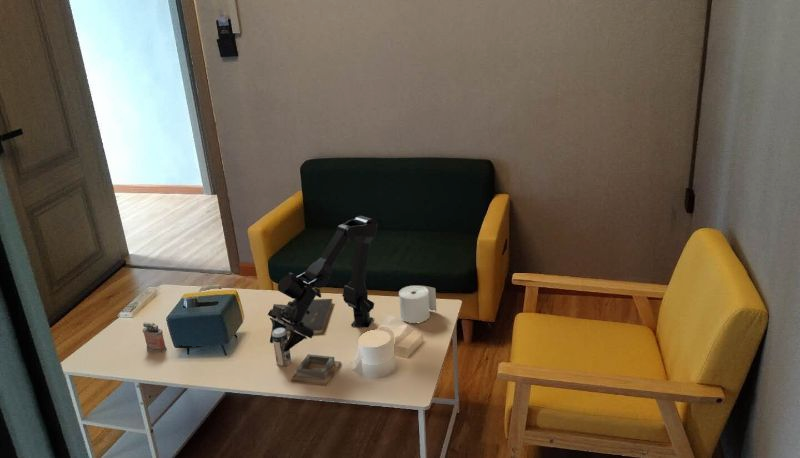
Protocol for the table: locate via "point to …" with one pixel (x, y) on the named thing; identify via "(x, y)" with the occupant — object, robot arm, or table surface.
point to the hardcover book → (315, 315)
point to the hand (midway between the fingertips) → (277, 347)
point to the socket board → (316, 370)
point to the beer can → (281, 346)
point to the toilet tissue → (416, 303)
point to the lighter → (154, 338)
